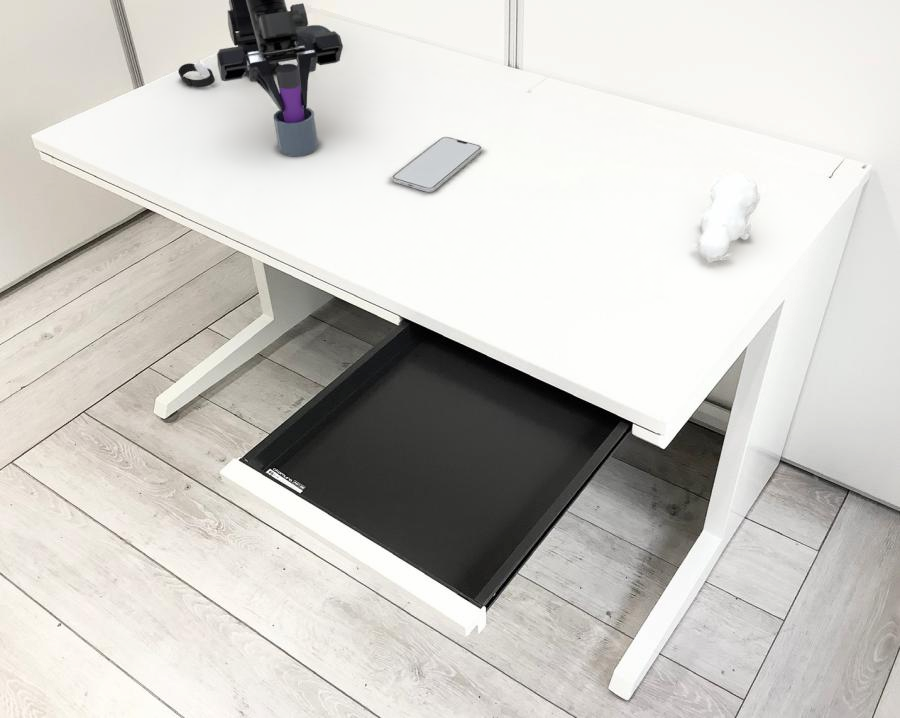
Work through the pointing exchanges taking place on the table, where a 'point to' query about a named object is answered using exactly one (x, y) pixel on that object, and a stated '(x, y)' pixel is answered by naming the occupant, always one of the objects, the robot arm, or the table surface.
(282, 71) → the glue stick
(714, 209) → the white animal figurine
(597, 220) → the table surface
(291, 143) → the pen holder
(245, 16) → the robot arm
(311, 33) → the computer mouse
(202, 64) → the watch
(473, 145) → the smartphone
